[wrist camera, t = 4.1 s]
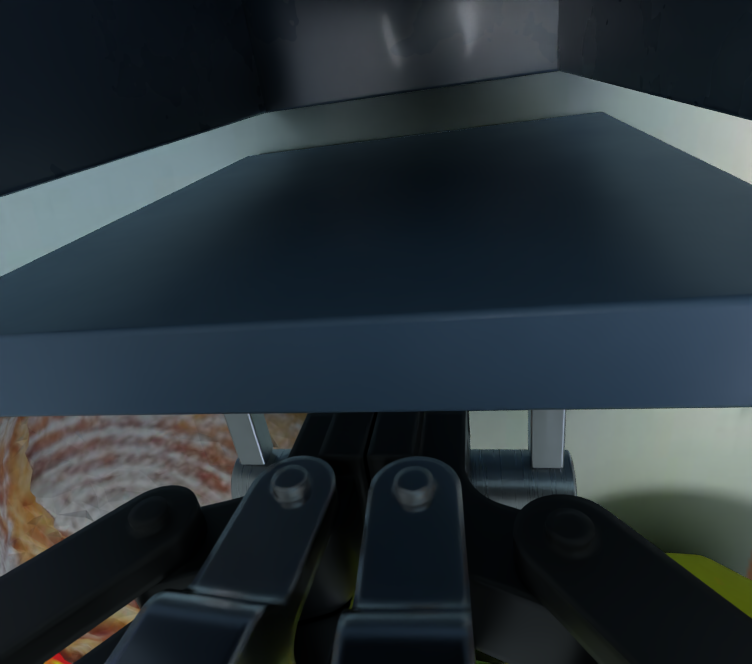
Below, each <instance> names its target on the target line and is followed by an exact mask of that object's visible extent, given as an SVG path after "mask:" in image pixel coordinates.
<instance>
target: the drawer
mask: <svg viewBox="0 0 752 664" xmlns="http://www.w3.org/2000/svg"><path fill="white" fill-rule="evenodd" d="M554 71H562V72H566V73H570V74H574V75H578V76H581V77H585V78H589V79H593V80H597V81H601V82H605V83H609V84H612V85H616V86H620V87H624V88H628V89H632V90H636V91H639V92H643V93H647V94H651V95H655V96H659V97H663V98H667V99H670V100H674V101H678V102H682V103H686V104H690V105H694V106H698V107H701V108H705V109H709V110H713V111H717V112H721V113H725V114H728V115H732V116H736V117H740V118H744V119H748V120H752V0H0V197H3V196H6V195H9V194H12V193H15V192H18V191H22V190H25V189H28V188H31V187H34V186H37V185H40V184H44V183H47V182H50V181H53V180H56V179H59V178H62V177H66V176H69V175H72V174H75V173H78V172H81V171H84V170H88V169H91V168H94V167H97V166H100V165H103V164H106V163H110V162H113V161H116V160H119V159H122V158H125V157H128V156H132V155H135V154H138V153H141V152H144V151H147V150H150V149H154V148H157V147H160V146H163V145H166V144H169V143H172V142H176V141H179V140H182V139H185V138H188V137H191V136H194V135H198V134H201V133H204V132H207V131H210V130H213V129H216V128H220V127H223V126H226V125H229V124H232V123H235V122H238V121H242V120H245V119H248V118H251V117H254V116H257V115H260V114H264V113H268V112H275V111H282V110H289V109H296V108H303V107H310V106H317V105H324V104H331V103H338V102H345V101H352V100H359V99H366V98H373V97H379V96H386V95H393V94H400V93H407V92H414V91H421V90H428V89H435V88H442V87H449V86H456V85H463V84H470V83H477V82H484V81H491V80H498V79H505V78H512V77H519V76H526V75H533V74H540V73H547V72H554ZM730 407H752V184H749V183H747V182H745V181H743V180H741V179H739V178H737V177H735V176H733V175H731V174H729V173H727V172H725V171H723V170H721V169H719V168H717V167H715V166H712V165H710V164H708V163H706V162H704V161H702V160H700V159H698V158H696V157H694V156H692V155H690V154H688V153H686V152H684V151H682V150H680V149H677V148H675V147H673V146H671V145H669V144H667V143H665V142H663V141H661V140H659V139H657V138H655V137H653V136H651V135H649V134H647V133H645V132H642V131H640V130H638V129H636V128H634V127H632V126H630V125H628V124H626V123H624V122H622V121H620V120H618V119H616V118H614V117H612V116H610V115H608V114H605V113H603V112H595V113H587V114H580V115H572V116H564V117H556V118H548V119H540V120H532V121H524V122H516V123H508V124H500V125H492V126H484V127H476V128H468V129H460V130H452V131H444V132H436V133H428V134H420V135H412V136H404V137H396V138H388V139H381V140H373V141H365V142H357V143H349V144H341V145H333V146H325V147H317V148H309V149H301V150H293V151H285V152H277V153H269V154H261V155H253V156H247V157H245V158H243V159H241V160H239V161H237V162H235V163H233V164H231V165H229V166H227V167H225V168H223V169H221V170H219V171H217V172H214V173H212V174H210V175H208V176H206V177H204V178H202V179H200V180H198V181H196V182H194V183H192V184H190V185H188V186H186V187H184V188H182V189H180V190H178V191H176V192H173V193H171V194H169V195H167V196H165V197H163V198H161V199H159V200H157V201H155V202H153V203H151V204H149V205H147V206H145V207H143V208H141V209H139V210H137V211H135V212H132V213H130V214H128V215H126V216H124V217H122V218H120V219H118V220H116V221H114V222H112V223H110V224H108V225H106V226H104V227H102V228H100V229H98V230H96V231H94V232H92V233H89V234H87V235H85V236H83V237H81V238H79V239H77V240H75V241H73V242H71V243H69V244H67V245H65V246H63V247H61V248H59V249H57V250H55V251H53V252H51V253H48V254H46V255H44V256H42V257H40V258H38V259H36V260H34V261H32V262H30V263H28V264H26V265H24V266H22V267H20V268H18V269H16V270H14V271H12V272H10V273H7V274H5V275H3V276H1V277H0V417H28V416H106V415H184V414H223V415H224V418H225V421H226V423H227V426H228V429H229V432H230V435H231V438H232V441H233V444H234V447H235V449H236V452H237V455H238V458H237V460H236V462H235V465H234V468H233V472H232V478H231V495H232V499H235V498H239V497H242V496H245V494H246V492H247V491H248V489H249V487H250V486H251V484H252V482H253V481H254V480H255V478H256V477H257V476H258V475H259V474H260V473H261V472H262V471H263V470H264V469H266V468H267V467H269V466H270V465H272V464H274V463H276V462H278V461H280V460H283V459H286V458H288V456H289V454H290V451H291V449H273V443H272V440H271V437H270V433H269V430H268V427H267V423H266V420H265V417H264V413H340V412H418V411H496V410H528V450H511V449H470V482H471V484H472V485H473V486H474V487H475V488H476V489H477V490H478V491H479V492H480V493H481V494H483V495H484V496H486V497H487V498H489V499H491V500H493V501H495V502H498V503H501V504H504V505H507V506H510V507H514V508H517V509H522V508H523V507H524V506H525V505H526V504H528V503H529V502H530V501H532V500H534V499H536V498H539V497H542V496H546V495H553V494H566V495H574V496H577V487H576V478H575V471H574V465H573V461H572V457H571V455H570V453H569V451H568V450H564V449H565V426H566V410H574V409H652V408H730Z"/></svg>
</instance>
